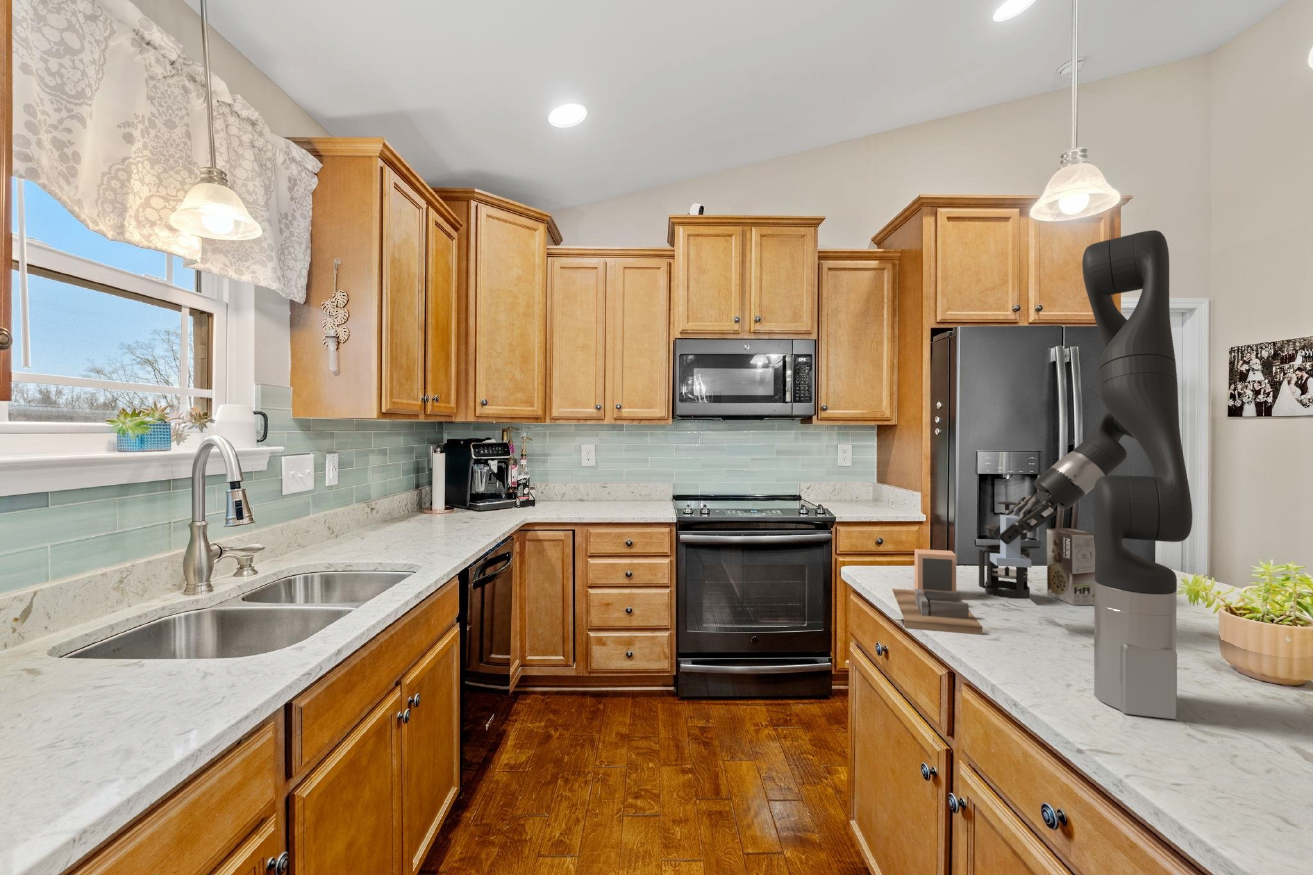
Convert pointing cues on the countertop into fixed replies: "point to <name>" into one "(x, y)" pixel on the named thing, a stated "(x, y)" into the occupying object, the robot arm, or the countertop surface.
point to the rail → (936, 611)
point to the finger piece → (1009, 548)
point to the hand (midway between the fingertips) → (999, 538)
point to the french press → (1003, 569)
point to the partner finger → (935, 570)
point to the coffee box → (1071, 565)
